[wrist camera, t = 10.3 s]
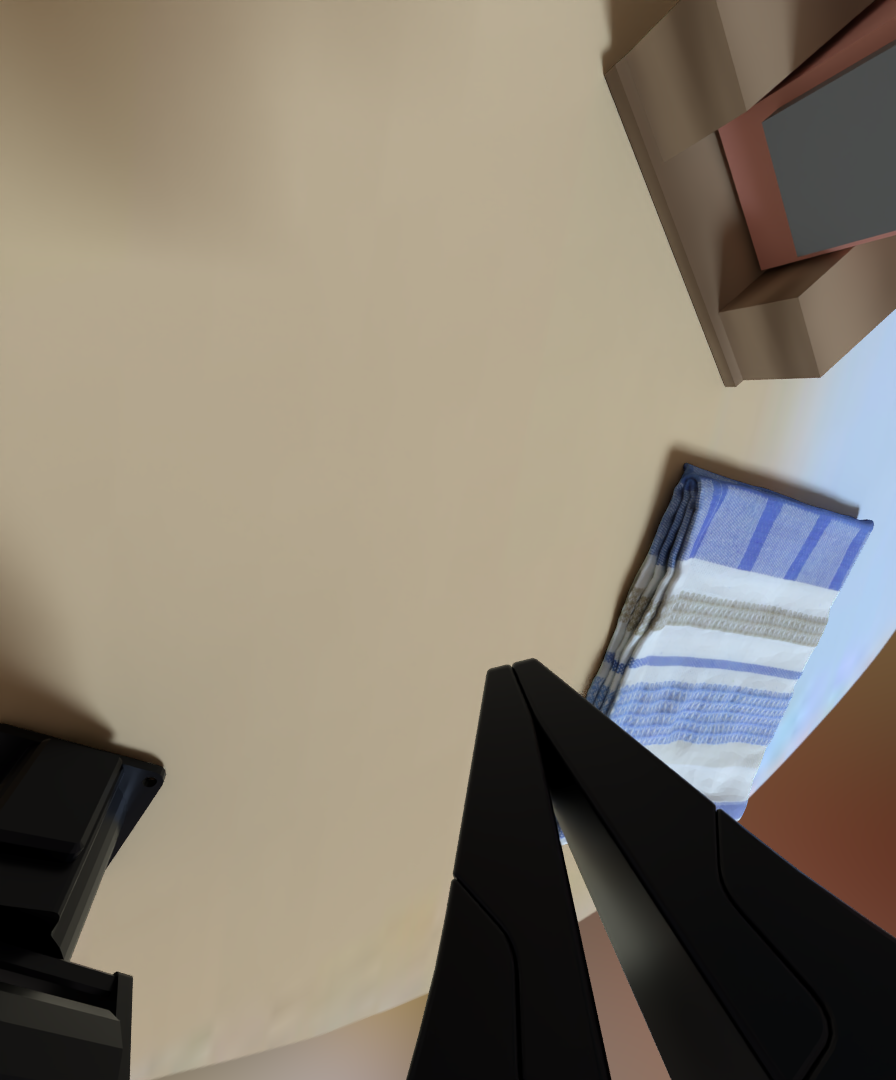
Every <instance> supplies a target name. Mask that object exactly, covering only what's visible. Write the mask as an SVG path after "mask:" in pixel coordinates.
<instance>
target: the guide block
mask: <svg viewBox="0 0 896 1080" xmlns="http://www.w3.org/2000/svg"><path fill="white" fill-rule="evenodd" d="M875 1H876V0H680V1H679V2H678V3H677V4H676V5H675V6H674V7H673V8H672V9H671V10H670V11H669V12H668V13H667V14H666V15H665V16H664V17H663V18H662V19H661V20H660V21H659V22H658V23H657V24H656V25H655V26H654V27H653V28H652V29H651V30H650V31H649V32H648V33H647V34H646V35H645V36H644V37H643V38H642V39H641V40H640V42H639V43H638V44H637V45H636V46H635V47H634V48H633V49H632V50H631V51H630V52H629V53H628V54H627V55H626V56H625V57H623V58H622V59H621V60H620V61H619V62H618V63H616V64H615V65H614V66H613V67H612V68H611V69H610V70H609V71H608V72H607V73H606V74H605V78H606V81H607V83H608V86H609V88H610V91H611V93H612V96H613V99H614V101H615V104H616V106H617V109H618V111H619V114H620V117H621V119H622V122H623V124H624V127H625V129H626V132H627V135H628V137H629V140H630V142H631V145H632V148H633V150H634V153H635V155H636V158H637V160H638V163H639V166H640V168H641V171H642V173H643V176H644V178H645V181H646V184H647V186H648V189H649V191H650V194H651V196H652V199H653V202H654V204H655V207H656V209H657V212H658V214H659V217H660V220H661V222H662V225H663V227H664V230H665V233H666V235H667V238H668V240H669V243H670V245H671V248H672V251H673V253H674V256H675V258H676V261H677V263H678V266H679V269H680V271H681V274H682V276H683V279H684V281H685V284H686V287H687V289H688V292H689V294H690V297H691V299H692V302H693V305H694V307H695V310H696V312H697V315H698V318H699V320H700V323H701V325H702V328H703V330H704V333H705V336H706V338H707V341H708V343H709V346H710V348H711V351H712V354H713V356H714V359H715V361H716V364H717V366H718V369H719V372H720V374H721V377H722V379H723V382H724V385H725V387H736V386H737V385H738V384H740V383H741V382H742V381H743V380H763V379H793V378H821V377H822V376H823V375H824V374H825V373H826V372H827V371H828V370H829V369H830V368H831V367H833V366H834V365H835V364H836V363H837V362H838V361H839V360H840V359H841V358H842V357H843V356H845V355H846V354H847V353H848V352H849V351H850V350H851V349H852V348H853V347H854V346H855V345H857V344H858V343H859V342H860V341H861V340H862V339H863V338H864V337H865V336H866V335H867V334H869V333H870V332H871V331H872V330H873V329H874V328H875V327H876V326H877V325H878V324H879V323H881V322H882V321H883V320H884V319H885V318H886V317H887V316H888V315H889V314H890V313H891V312H893V311H894V310H895V309H896V235H894V236H890V237H886V238H883V239H879V240H875V241H871V242H867V243H864V244H860V245H856V246H852V247H849V248H845V249H841V250H837V251H833V252H830V253H826V254H822V255H818V256H815V257H811V258H807V259H803V260H799V261H796V262H792V263H788V264H784V265H780V266H777V267H773V268H769V269H765V270H762V271H761V268H760V265H759V261H758V258H757V255H756V252H755V248H754V245H753V242H752V239H751V235H750V232H749V229H748V225H747V222H746V219H745V216H744V212H743V209H742V206H741V203H740V199H739V196H738V193H737V190H736V186H735V183H734V180H733V177H732V173H731V170H730V167H729V164H728V160H727V157H726V154H725V150H724V147H723V144H722V141H721V137H720V134H719V131H718V129H719V128H721V127H722V126H724V125H726V124H727V123H729V122H730V121H732V120H734V119H735V118H737V117H738V116H740V115H742V114H743V113H745V112H747V111H748V110H749V109H750V108H751V107H752V106H753V105H755V104H756V103H757V102H758V101H759V100H760V99H762V98H763V97H764V96H765V95H766V94H767V93H768V92H770V91H771V90H772V89H773V88H774V87H775V86H777V85H778V84H779V83H780V82H781V81H782V80H783V79H785V78H786V77H787V76H788V75H789V74H790V73H791V72H793V71H794V70H795V69H796V68H797V67H798V66H800V65H801V64H802V63H803V62H804V61H805V60H806V59H808V58H809V57H810V56H811V55H812V54H813V53H815V52H816V51H817V50H818V49H819V48H820V47H821V46H823V45H824V44H825V43H826V42H827V41H828V40H829V39H831V38H832V37H833V36H834V35H835V34H836V33H838V32H839V31H840V30H841V29H842V28H843V27H844V26H846V25H847V24H848V23H849V22H850V21H851V20H852V19H854V18H855V17H856V16H857V15H858V14H859V13H861V12H862V11H863V10H864V9H865V8H866V7H868V6H869V5H871V4H872V3H873V2H875Z"/></svg>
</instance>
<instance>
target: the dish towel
mask: <svg viewBox="0 0 896 1080" xmlns="http://www.w3.org/2000/svg"><path fill="white" fill-rule="evenodd" d="M683 468H684V474H683V475H682V477H681V479H680V481H679V483H678V485H677V486H676V487H675V489H674V493H673V496H672V499H671V501H670V503H669V505H668V508H667V510H666V512H665V514H664V515H663V518H662V520H661V522H660V525H659V527H658V530H657V533H656V535H655V537H654V540H653V543H652V545H651V548H650V550H649V552H648V554H647V557H646V558H645V560H644V562H643V564H642V566H641V567H640V569H639V570H638V573H637V575H636V577H635V579H634V581H633V583H632V585H631V588H630V590H629V592H628V596H627V599H626V602H625V605H624V607H623V609H622V612H621V615H620V617H619V619H618V624H617V627H616V629H615V632H614V634H613V637H612V639H611V641H610V644H609V646H608V649H607V652H606V654H605V657H604V660H603V663H602V665H601V667H600V669H599V671H598V673H597V675H596V677H595V678H594V679H593V681H592V684H591V687H590V688H589V690H588V692H587V697H586V700H587V701H589V702H590V703H591V704H592V705H594V706H595V707H596V708H597V709H599V710H600V711H601V712H602V713H604V714H605V715H606V716H607V717H608V718H610V719H611V720H612V721H613V722H615V723H616V724H617V725H618V726H620V727H621V728H622V729H623V730H625V731H626V732H627V733H628V734H629V735H631V736H632V737H633V738H634V739H636V740H637V741H638V742H639V743H641V744H642V745H643V746H644V747H645V748H647V749H648V750H649V751H650V752H652V753H653V754H654V755H655V756H657V757H658V758H659V759H660V760H662V761H663V762H664V763H665V764H666V765H668V766H669V767H670V768H671V769H673V770H674V771H675V772H676V773H678V774H679V775H680V776H681V777H683V778H684V779H685V780H686V781H687V782H689V783H690V784H691V785H692V786H694V787H695V788H696V789H697V790H699V791H700V792H701V793H702V794H704V795H705V796H706V797H707V798H708V799H710V800H711V801H712V802H713V803H714V804H715V805H716V811H717V809H722V810H724V811H725V812H726V813H727V814H729V815H730V816H731V817H732V818H733V819H735V820H736V821H738V820H739V819H740V818H741V816H742V814H743V812H744V810H745V808H746V805H747V801H748V797H749V793H750V790H751V786H752V782H753V779H754V777H755V775H756V773H757V771H758V768H759V766H760V763H761V760H762V758H763V755H764V752H765V749H766V747H767V746H768V745H769V744H770V742H771V740H772V738H773V736H774V734H775V732H776V729H777V727H778V725H779V723H780V721H781V719H782V717H783V714H784V713H785V711H786V708H787V707H788V704H789V702H790V699H791V698H792V696H793V691H794V686H795V684H796V682H797V681H798V679H799V678H800V676H801V674H802V673H803V670H804V667H805V665H806V663H807V661H808V659H809V657H810V655H811V654H812V652H813V650H814V648H815V647H816V646H817V644H818V642H819V640H820V638H821V636H822V634H823V632H824V630H825V627H826V624H827V622H828V618H829V610H830V608H831V606H832V604H833V603H834V601H835V599H836V597H837V595H838V594H839V592H840V590H841V588H842V586H843V585H844V583H845V581H846V579H847V577H848V575H849V573H850V571H851V569H852V567H853V565H854V563H855V561H856V559H857V558H858V556H859V554H860V552H861V550H862V548H863V546H864V544H865V542H866V541H867V539H868V537H869V535H870V533H871V531H872V529H873V526H874V523H873V521H872V520H858V519H855V518H854V517H851V516H847V515H841V514H838V513H835V512H832V511H829V510H826V509H822V508H818V507H814V506H811V505H808V504H805V503H803V502H800V501H798V500H795V499H793V498H790V497H787V496H785V495H782V494H779V493H777V492H774V491H771V490H769V489H765V488H762V487H757V486H752V485H749V484H746V483H742V482H739V481H736V480H733V479H730V478H726V477H723V476H721V475H718V474H715V473H712V472H709V471H706V470H704V469H701V468H698V467H696V466H693V465H691V464H689V463H685V464H684V467H683ZM555 818H556V816H555ZM556 823H557V827H558V832H559V837H560V841H561V845H564V844H567V841H566V838H565V836H564V834H563V832H562V829H561V827H560V825H559V822H558V820H557V818H556Z"/></svg>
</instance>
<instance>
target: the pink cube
mask: <svg viewBox="0 0 896 1080" xmlns="http://www.w3.org/2000/svg"><path fill="white" fill-rule="evenodd" d="M718 131H719V134H720V137H721V141H722V144H723V147H724V150H725V154H726V157H727V160H728V164H729V167H730V170H731V173H732V177H733V180H734V183H735V186H736V190H737V193H738V196H739V199H740V203H741V206H742V209H743V212H744V216H745V219H746V222H747V225H748V229H749V232H750V235H751V239H752V242H753V245H754V248H755V252H756V255H757V258H758V261H759V265H760V268H761V271H762V270H765V269H769V268H773V267H777V266H780V265H784V264H788V263H792V262H796V261H799V260H803V259H807V258H811V257H815V256H818V255H822V254H826V253H830V252H833V251H837V250H841V249H845V248H849V247H852V246H856V245H860V244H864V243H867V242H871V241H875V240H879V239H883V238H886V237H890V236H894V235H896V0H876V1H875V2H873V3H872V4H871V5H869V6H868V7H866V8H865V9H864V10H863V11H862V12H861V13H859V14H858V15H857V16H856V17H855V18H854V19H852V20H851V21H850V22H849V23H848V24H847V25H846V26H844V27H843V28H842V29H841V30H840V31H839V32H838V33H836V34H835V35H834V36H833V37H832V38H831V39H829V40H828V41H827V42H826V43H825V44H824V45H823V46H821V47H820V48H819V49H818V50H817V51H816V52H815V53H813V54H812V55H811V56H810V57H809V58H808V59H806V60H805V61H804V62H803V63H802V64H801V65H800V66H798V67H797V68H796V69H795V70H794V71H793V72H791V73H790V74H789V75H788V76H787V77H786V78H785V79H783V80H782V81H781V82H780V83H779V84H778V85H777V86H775V87H774V88H773V89H772V90H771V91H770V92H768V93H767V94H766V95H765V96H764V97H763V98H762V99H760V100H759V101H758V102H757V103H756V104H755V105H753V106H752V107H751V108H750V109H749V110H748V111H747V112H745V113H743V114H742V115H740V116H738V117H737V118H735V119H734V120H732V121H730V122H729V123H727V124H726V125H724V126H722V127H721V128H719V129H718Z"/></svg>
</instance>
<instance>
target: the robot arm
mask: <svg viewBox="0 0 896 1080" xmlns="http://www.w3.org/2000/svg"><path fill="white" fill-rule="evenodd" d="M165 776H166V771H165V769H164V768H163V767H161V766H159V765H155V764H151V763H147V762H144V761H140V760H136V759H133V758H129V757H125V756H122V755H118V754H114V753H110V752H107V751H103V750H99V749H96V748H92V747H88V746H85V745H81V744H77V743H73V742H70V741H66V740H62V739H59V738H55V737H51V736H48V735H44V734H40V733H36V732H33V731H29V730H25V729H22V728H18V727H14V726H11V725H7V724H1V723H0V1080H130V1052H131V1020H132V989H133V977H132V976H130V975H127V974H124V973H120V972H115V973H114V974H109V973H106V972H103V971H100V970H96V969H93V968H90V967H86V966H83V965H80V964H76V963H73V962H70V959H71V957H72V954H73V952H74V949H75V946H76V944H77V941H78V939H79V936H80V934H81V931H82V928H83V926H84V923H85V921H86V918H87V916H88V913H89V911H90V908H91V905H92V903H93V900H94V898H95V895H96V893H97V890H98V887H99V885H100V882H101V880H102V877H103V875H104V872H105V870H106V868H107V867H108V865H109V864H110V862H111V861H112V859H113V858H114V856H115V855H116V853H117V852H118V850H119V849H120V847H121V846H122V844H123V843H124V842H125V840H126V839H127V837H128V836H129V834H130V833H131V831H132V830H133V828H134V827H135V825H136V824H137V822H138V821H139V819H140V818H141V816H142V815H143V813H144V812H145V810H146V809H147V807H148V806H149V804H150V803H151V801H152V800H153V798H154V797H155V795H156V794H157V792H158V791H159V789H160V788H161V786H162V785H163V782H164V779H165ZM148 777H153V778H155V779H154V780H149V779H147V778H148ZM555 816H556V818H557V820H558V822H559V825H560V827H561V829H562V832H563V834H564V836H565V838H566V841H567V843H568V845H569V848H570V850H571V852H572V854H573V857H574V859H575V861H576V864H577V866H578V868H579V870H580V873H581V875H582V877H583V879H584V882H585V884H586V886H587V889H588V891H589V893H590V895H591V898H592V900H593V902H594V905H595V907H596V909H597V911H598V914H599V916H600V918H601V921H602V923H603V925H604V927H605V930H606V932H607V934H608V937H609V939H610V941H611V943H612V945H613V948H614V950H615V952H616V955H617V957H618V959H619V961H620V964H621V966H622V968H623V971H624V973H625V975H626V978H627V980H628V982H629V984H630V987H631V989H632V991H633V994H634V996H635V998H636V1000H637V1003H638V1005H639V1007H640V1009H641V1012H642V1014H643V1016H644V1018H645V1021H646V1023H647V1025H648V1028H649V1030H650V1032H651V1035H652V1037H653V1039H654V1041H655V1043H656V1046H657V1048H658V1051H659V1053H660V1055H661V1057H662V1060H663V1062H664V1064H665V1067H666V1069H667V1071H668V1073H669V1076H670V1078H671V1080H896V938H895V937H893V936H892V935H890V934H889V933H888V932H886V931H885V930H883V929H882V928H880V927H879V926H877V925H876V924H874V923H873V922H872V921H870V920H869V919H867V918H866V917H864V916H863V915H861V914H860V913H859V912H857V911H856V910H854V909H853V908H852V907H850V906H849V905H847V904H846V903H845V902H843V901H842V900H840V899H839V898H838V897H836V896H835V895H833V894H832V893H831V892H829V891H828V890H826V889H825V888H824V887H822V886H821V885H819V884H818V883H816V882H815V881H814V880H812V879H811V878H810V877H808V876H807V875H805V874H804V873H802V872H801V871H800V870H798V869H797V868H796V867H794V866H793V865H792V864H791V863H789V862H788V861H786V860H785V859H784V858H783V857H782V856H780V855H779V854H778V853H776V852H775V851H774V850H772V849H771V848H770V847H769V846H767V845H766V844H765V843H763V842H762V841H761V840H760V839H758V838H757V837H756V836H754V835H753V834H752V833H750V832H749V831H748V830H747V829H745V828H744V827H743V826H742V825H741V824H740V823H738V822H737V821H736V820H735V819H733V818H732V817H731V816H730V815H729V814H727V813H726V812H725V811H724V810H722V809H717V811H716V805H715V804H714V803H713V802H712V801H711V800H710V799H708V798H707V797H706V796H705V795H704V794H702V793H701V792H700V791H699V790H697V789H696V788H695V787H694V786H692V785H691V784H690V783H689V782H687V781H686V780H685V779H684V778H683V777H681V776H680V775H679V774H678V773H676V772H675V771H674V770H673V769H671V768H670V767H669V766H668V765H666V764H665V763H664V762H663V761H662V760H660V759H659V758H658V757H657V756H655V755H654V754H653V753H652V752H650V751H649V750H648V749H647V748H645V747H644V746H643V745H642V744H641V743H639V742H638V741H637V740H636V739H634V738H633V737H632V736H631V735H629V734H628V733H627V732H626V731H625V730H623V729H622V728H621V727H620V726H618V725H617V724H616V723H615V722H613V721H612V720H611V719H610V718H608V717H607V716H606V715H605V714H604V713H602V712H601V711H600V710H599V709H597V708H596V707H595V706H594V705H592V704H591V703H590V702H589V701H587V700H586V699H585V698H584V697H583V696H581V695H580V694H579V693H578V692H576V691H575V690H574V689H573V688H571V687H570V686H569V685H568V684H566V683H565V682H564V681H563V680H562V679H560V678H559V677H558V676H557V675H555V674H554V673H553V672H552V671H550V670H549V669H548V668H547V667H545V666H544V665H543V664H542V663H541V662H539V661H538V660H537V659H534V658H531V659H527V660H523V661H519V662H515V663H514V664H513V665H512V667H511V666H510V665H503V666H499V667H495V668H491V669H489V670H488V671H487V674H486V680H485V686H484V692H483V698H482V704H481V710H480V716H479V722H478V728H477V734H476V740H475V745H474V751H473V757H472V763H471V769H470V775H469V781H468V787H467V793H466V799H465V805H464V811H463V817H462V823H461V828H460V834H459V840H458V846H457V852H456V858H455V864H454V870H453V876H454V879H453V880H452V881H451V886H450V892H449V898H448V903H447V909H446V915H445V920H444V925H443V930H442V935H441V940H440V945H439V951H438V956H437V961H436V966H435V970H434V974H433V978H432V982H431V987H430V991H429V995H428V999H427V1003H426V1007H425V1011H424V1015H423V1019H422V1024H421V1027H420V1031H419V1035H418V1039H417V1042H416V1046H415V1050H414V1053H413V1057H412V1061H411V1064H410V1068H409V1072H408V1075H407V1079H406V1080H611V1076H610V1071H609V1066H608V1062H607V1057H606V1052H605V1048H604V1043H603V1038H602V1034H601V1029H600V1024H599V1020H598V1015H597V1010H596V1006H595V1001H594V996H593V991H592V987H591V982H590V977H589V973H588V968H587V963H586V959H585V954H584V950H583V945H582V940H581V936H580V930H579V926H578V921H577V916H576V912H575V907H574V902H573V898H572V893H571V888H570V884H569V879H568V874H567V869H566V865H565V860H564V855H563V851H562V846H561V841H560V837H559V832H558V827H557V823H556V818H555Z"/></svg>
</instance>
